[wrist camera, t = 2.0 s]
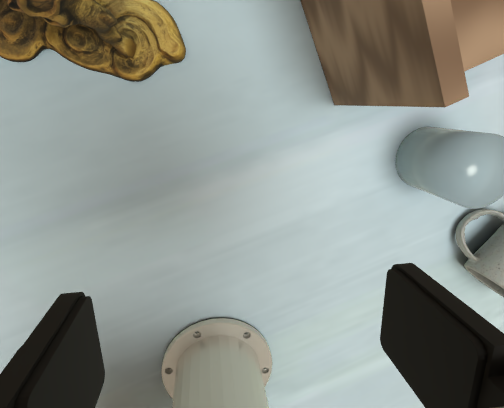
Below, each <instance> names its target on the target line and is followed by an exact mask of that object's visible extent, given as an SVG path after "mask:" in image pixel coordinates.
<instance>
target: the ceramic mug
mask: <svg viewBox="0 0 504 408" xmlns="http://www.w3.org/2000/svg"><path fill="white" fill-rule="evenodd" d="M486 214H491V215H494V216H496V217H498V218H500V219H501V220H502V221H504V214H503V213H501V212H497V211H494V210H487V209H485V210H476V211H473V212H471V213H469V214H467V215H466V216H465V217H464V218H463V219H462V220H461V221H460V222H459V224H458V225H457V228H456V241H457V244H458V246H459V248H460V249H461V251H462V252H463V253H464V254H465V256H466V257H467V258H468V261H467V262H466V263H465V264H464V267H465V268H466V269H467V270H468V271H469V272H470V273H471V274H472V275H473V276H474V277H476V278H477V279H478V280H479V281H481V282H482V283H484V284H485V285H486V286H488V287H489V288H491V289H492V290H493V291H495V292H496V293H498V294H500V295H501V296H503V297H504V224H503V225H502V226H501V227H500V228H499V229H498V230H497V231H496V232H495V233H494V234H493V235H492V236H491V237H490V238H489V239H488V240H487V241H486V242H485V243H484V244H483V245H482V246H481V247H480V248H479V249H478V250H477V251H476V252H475V253H474V254H472V253H471V251H470V250H469V248H468V247H467V245H466V242H465V233H464V231H465V226H466V225H467V224H468V223H469V222H470V221H472V220H475V219H478V217H480V216H482V215H486Z"/></svg>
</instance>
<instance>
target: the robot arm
mask: <svg viewBox="0 0 504 408" xmlns="http://www.w3.org/2000/svg"><path fill="white" fill-rule="evenodd" d="M380 341H381V345H382V348H383V350H384V351H385V353H386V354H387V355H388V357H389V358H390V359H391V361H392V362H393V364H394V365H395V366H396V368H397V369H398V371H399V372H400V373H401V375H402V376H403V377H404V379H405V380H406V382H407V383H408V384H409V386H410V387H411V388H412V390H413V391H414V393H415V394H416V395H417V397H418V398H419V399H420V401H421V402H422V404H423V405H424V406H425V408H504V333H502V332H501V331H500V330H498V329H497V328H496V327H494V326H493V325H492V324H491V323H489V322H488V321H487V320H485V319H484V318H483V317H482V316H480V315H479V314H478V313H476V312H475V311H474V310H473V309H471V308H470V307H469V306H467V305H466V304H465V303H463V302H462V301H461V300H460V299H458V298H457V297H456V296H454V295H453V294H452V293H451V292H449V291H448V290H447V289H445V288H444V287H443V286H442V285H440V284H439V283H438V282H436V281H435V280H434V279H432V278H431V277H430V276H429V275H427V274H426V273H425V272H423V271H422V270H421V269H420V268H418V267H417V266H416V265H414V264H413V263H406V264H395V265H393V266H392V268H391V269H389V270H388V272H387V278H386V288H385V297H384V307H383V316H382V325H381V335H380ZM271 371H272V357H271V353H270V349H269V346H268V344H267V342H266V340H265V338H264V337H263V336H262V335H261V334H260V332H258V331H257V330H256V329H255V328H253V327H252V326H250V325H248V324H246V323H244V322H241V321H238V320H234V319H226V318H218V319H209V320H205V321H201V322H199V323H196V324H194V325H191V326H190V327H188V328H186V329H185V330H183V331H182V332H181V333H180V334H178V335H177V336H176V337H175V338H174V339H173V341H172V342H171V343H170V345H169V346H168V348H167V350H166V352H165V355H164V359H163V363H162V370H161V373H162V381H163V384H164V387H165V389H166V391H167V392H168V394H169V395H170V397H171V398H172V399H173V404H172V408H269V406H268V401H267V397H266V392H265V388H264V387H265V386H266V384H267V382H268V380H269V378H270V375H271ZM104 377H105V370H104V364H103V359H102V353H101V348H100V342H99V337H98V331H97V326H96V320H95V315H94V309H93V304H92V299H91V297H90V296H87V297H85V295H84V293H83V292H76V293H65V294H61V295H60V296H59V297H58V298H57V299H56V301H55V302H54V304H53V305H52V306H51V308H50V309H49V310H48V312H47V313H46V314H45V316H44V317H43V319H42V320H41V321H40V323H39V324H38V325H37V327H36V328H35V329H34V331H33V332H32V333H31V335H30V336H29V338H28V339H27V340H26V342H25V343H24V344H23V345H22V346H21V347H20V348H19V350H18V351H17V352H16V354H15V355H14V356H13V358H12V359H11V360H10V362H9V363H8V364H7V366H6V367H5V368H4V370H3V371H2V373H1V374H0V408H95V406H96V403H97V400H98V398H99V395H100V392H101V389H102V386H103V383H104Z"/></svg>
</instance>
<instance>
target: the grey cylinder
mask: <svg viewBox="0 0 504 408" xmlns="http://www.w3.org/2000/svg"><path fill="white" fill-rule="evenodd" d="M396 170H397V173H398V175H399V177H400V178H401V179H402V180H403V181H404V182H405V183H406V184H408V185H410V186H413V187H415V188H418V189H420V190H423V191H425V192H428V193H430V194H433V195H435V196H438V197H440V198H443V199H445V200H448V201H450V202H453V203H455V204H458V205H460V206H463V207H466V208H471V209H477V208H483V207H486V206H489V205H491V204H492V203H494V202H496V201H497V200H498V199H500V198H501V197H502V196H503V195H504V137H503V136H501V135H497V134H491V133H481V132H472V131H463V130H453V129H444V128H435V127H424V128H420V129H417V130H415V131H413V132H412V133H410V134H409V135H408V136H407V137H406V138H405V139H404V140H403V142H402V143H401V145H400V146H399V149H398V151H397V154H396Z"/></svg>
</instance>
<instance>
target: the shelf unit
mask: <svg viewBox="0 0 504 408" xmlns="http://www.w3.org/2000/svg"><path fill="white" fill-rule="evenodd" d="M301 4H302V7H303V10H304V13H305V16H306V19H307V22H308V25H309V28H310V31H311V34H312V37H313V40H314V44H315V47H316V50H317V53H318V56H319V59H320V62H321V65H322V68H323V71H324V74H325V77H326V81H327V84H328V87H329V90H330V93H331V96H332V99H333V102H334V105H357V106H410V107H447V106H449V105H451V104H453V103H456V102H458V101H460V100H462V99H464V98H467V97H469V93H468V88H467V83H466V78H465V73H464V71H466V70H468V69H471V68H473V67H475V66H477V65H480V64H482V63H484V62H486V61H488V60H491V59H493V58H495V57H497V56H500V55H502V54H504V0H301Z"/></svg>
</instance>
